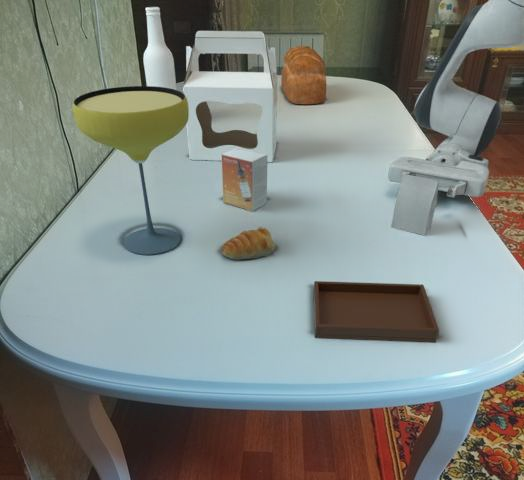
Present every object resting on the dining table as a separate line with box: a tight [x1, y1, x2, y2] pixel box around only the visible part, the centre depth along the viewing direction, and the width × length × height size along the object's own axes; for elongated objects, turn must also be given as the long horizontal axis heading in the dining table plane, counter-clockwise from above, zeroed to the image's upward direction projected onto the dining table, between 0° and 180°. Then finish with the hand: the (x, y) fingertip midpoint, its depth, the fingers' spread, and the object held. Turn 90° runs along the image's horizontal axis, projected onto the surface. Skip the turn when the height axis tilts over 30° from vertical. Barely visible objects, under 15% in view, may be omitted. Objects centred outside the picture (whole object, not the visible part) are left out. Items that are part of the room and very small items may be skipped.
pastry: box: [221, 226, 276, 261], centre depth 92 cm, size 9×7×4 cm
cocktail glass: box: [72, 85, 189, 256], centre depth 88 cm, size 18×18×25 cm
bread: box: [280, 45, 327, 105], centre depth 180 cm, size 14×26×16 cm, turn 5°
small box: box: [221, 148, 268, 212], centre depth 107 cm, size 8×6×10 cm
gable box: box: [182, 30, 278, 163], centre depth 127 cm, size 22×13×28 cm, turn 85°
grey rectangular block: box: [390, 174, 439, 236], centre depth 97 cm, size 4×7×10 cm, turn 57°
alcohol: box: [142, 6, 178, 90], centre depth 150 cm, size 9×9×30 cm
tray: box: [313, 280, 440, 343], centre depth 76 cm, size 17×12×2 cm
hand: (427, 188), depth 102 cm, fingers open, 8 cm apart
